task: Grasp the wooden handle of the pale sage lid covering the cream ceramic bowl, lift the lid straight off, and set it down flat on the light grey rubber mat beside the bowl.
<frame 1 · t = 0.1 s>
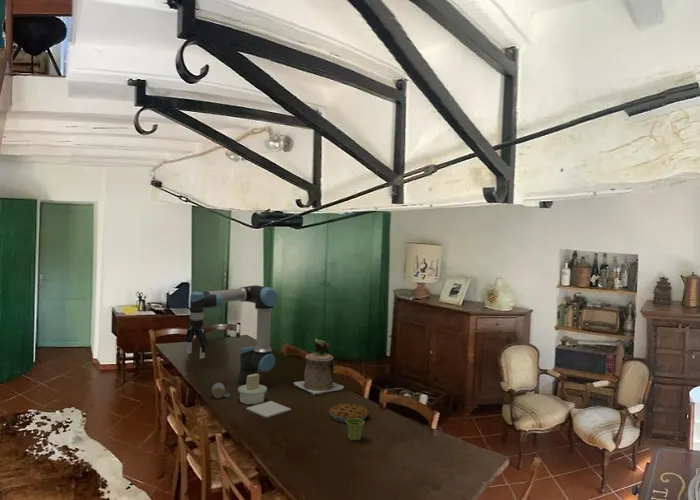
hand: (195, 355, 315), 28 cm above the table, tool pointing down, fingers open, 13 cm apart
mat: (268, 409, 310), on the table
bowl: (252, 400, 325), on the table
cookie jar: (318, 387, 355), on the table
plant pot: (354, 438, 275), on the table
ceramic mug: (220, 397, 330), on the table
pie: (348, 417, 304), on the table
lid: (252, 390, 325), point 6 cm above the table, touching bowl
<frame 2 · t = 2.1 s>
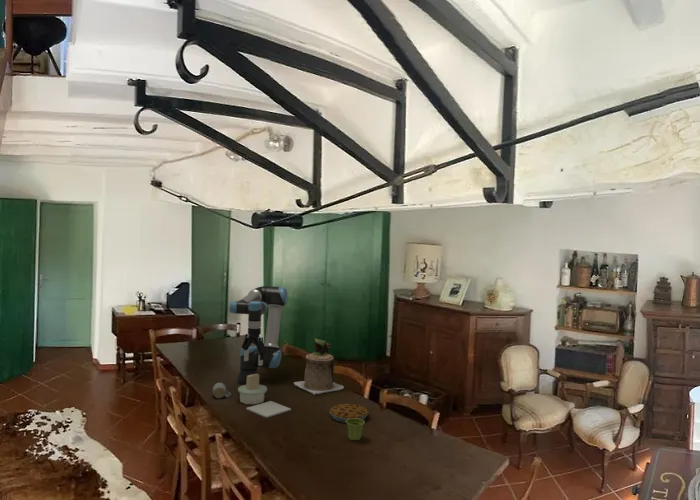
hand: (253, 363, 324), 23 cm above the table, tool pointing down, fingers open, 13 cm apart
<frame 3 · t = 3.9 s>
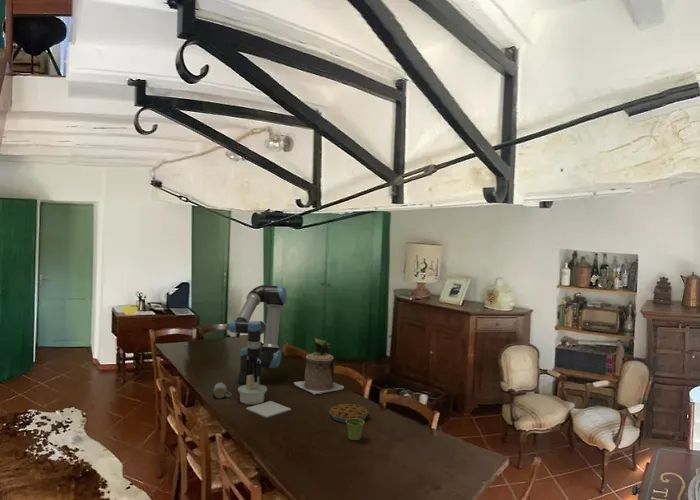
hand: (252, 386, 325), 8 cm above the table, tool pointing down, fingers closed on lid, 3 cm apart
lid: (252, 390, 325), point 6 cm above the table, touching bowl, gripper
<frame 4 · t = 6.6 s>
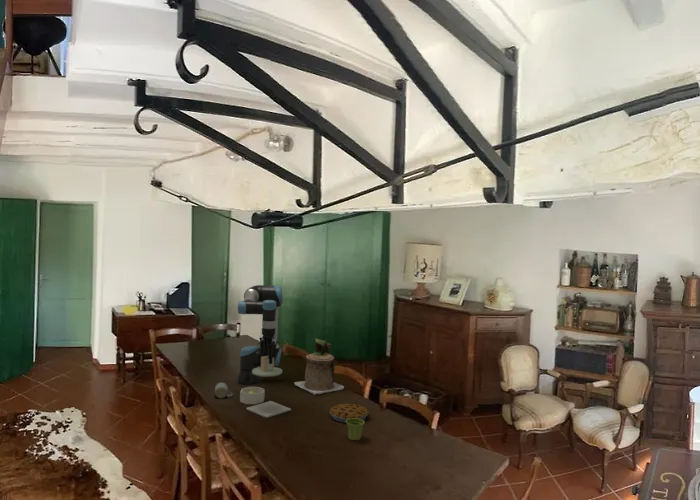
hand: (267, 368, 311), 23 cm above the table, tool pointing down, fingers closed on lid, 3 cm apart
lid: (267, 372, 311), point 21 cm above the table, touching gripper
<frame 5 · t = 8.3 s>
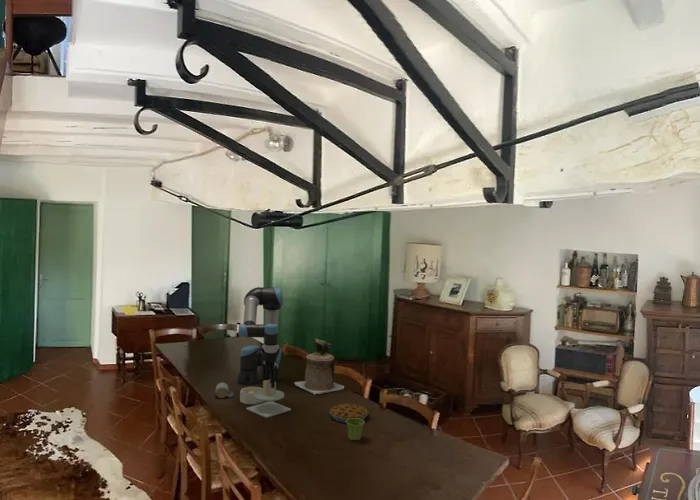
hand: (269, 392, 310), 10 cm above the table, tool pointing down, fingers closed on lid, 3 cm apart
lid: (269, 396, 310), point 8 cm above the table, touching gripper
when the fingers open (5 cm above the table, at t = 9.6 s): lid drops 1 cm, resting on mat.
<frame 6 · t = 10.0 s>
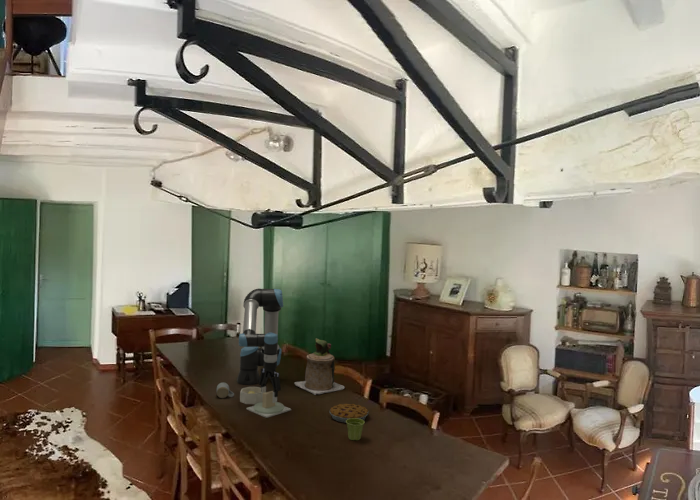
hand: (269, 400, 310), 6 cm above the table, tool pointing down, fingers open, 9 cm apart
lid: (268, 408, 310), point 1 cm above the table, touching mat
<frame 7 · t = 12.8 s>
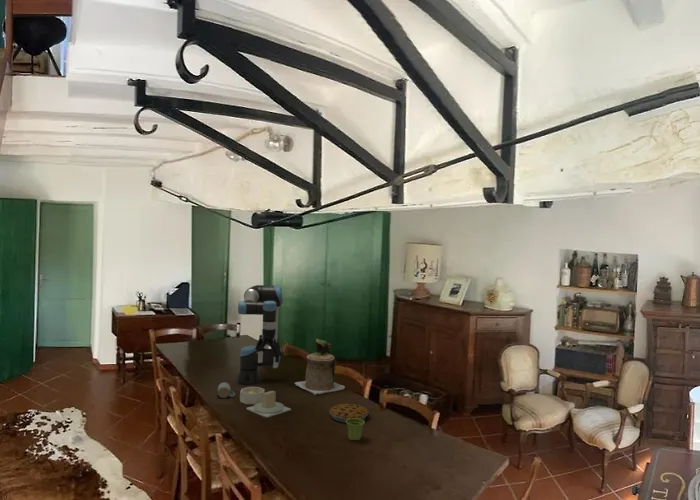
hand: (267, 365, 312), 25 cm above the table, tool pointing down, fingers open, 13 cm apart
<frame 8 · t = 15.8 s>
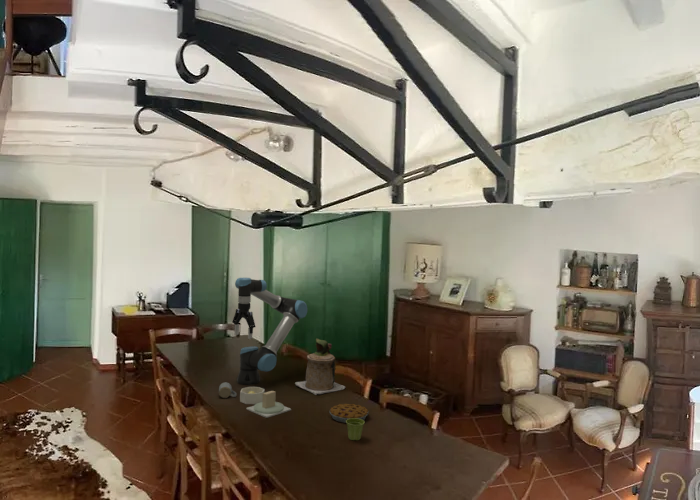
hand: (243, 336, 338), 35 cm above the table, tool pointing down, fingers open, 13 cm apart
at the end: lid inside the target area on the mat (0.1 cm from its centre), point 0.8 cm above the mat's base; lid tilted 0°; the gripper is holding nothing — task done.
